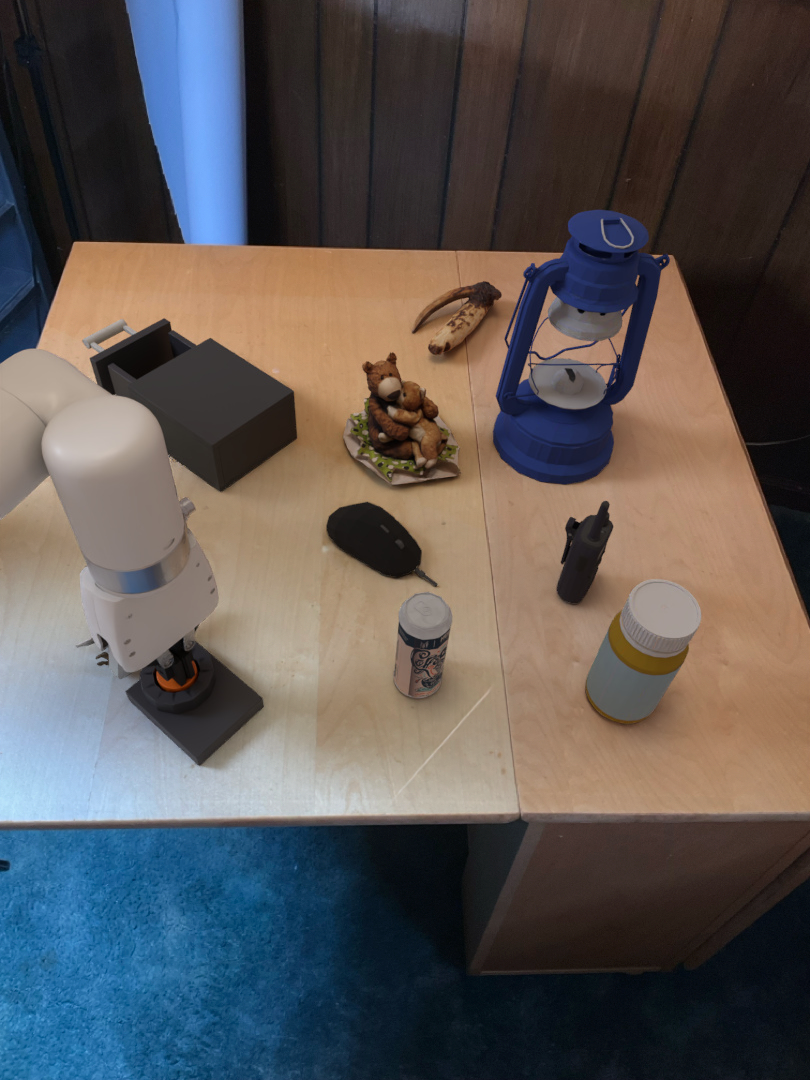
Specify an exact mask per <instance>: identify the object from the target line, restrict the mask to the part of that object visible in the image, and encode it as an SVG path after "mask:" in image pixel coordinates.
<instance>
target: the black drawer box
mask: <svg viewBox="0 0 810 1080" xmlns="http://www.w3.org/2000/svg"><path fill="white" fill-rule="evenodd" d="M196 345H197V346H195V347H193V348H191V349H190V350H188V351H186V352H184V353H183V354H181V355H179V356H177V357H176V358H174V359H172V360H170V361H169V362H167V363H165V364H163V365H162V366H160V367H158V368H156V369H155V370H153V371H151V372H150V373H148V374H146V375H144V376H143V377H141V378H139V379H137V380H136V381H134V382H132V383H130V384H129V385H127V386H128V390H129V394H130V398H131V399H132V400H135V401H137V402H138V403H140V404H142V405H144V406H145V407H146V408H147V409H149V410H150V411H151V412H152V414H153V415H154V416H155V417H156V419H157V421H158V423H159V425H160V427H161V429H162V432H163V436H164V440H165V444H166V449H167V453H168V456H170V457H171V458H173V459H174V460H175V461H176V462H178V463H180V464H181V465H182V466H183V467H185V468H187V469H188V471H190V472H192V473H193V474H194V475H196V476H197V477H199V479H201V480H203V481H204V482H205V483H207V484H208V485H209V486H211V487H212V488H214V489H215V490H216V491H217V492H219V493H222V492H223V491H225V490H226V489H228V488H229V487H231V486H232V485H233V484H235V483H236V482H237V481H239V480H240V479H242V478H244V477H245V476H246V475H248V474H249V473H250V472H252V471H254V470H255V469H256V468H258V467H259V466H260V465H262V464H263V463H264V462H266V461H267V460H269V459H270V458H272V457H273V456H274V455H276V454H277V453H278V452H280V451H281V450H283V449H285V448H286V447H287V446H289V445H290V444H291V443H292V442H294V441H296V440H297V439H298V430H297V429H298V428H297V414H296V398H295V391H294V390H293V389H292V388H291V387H289V386H287V385H285V384H284V383H282V382H281V381H280V380H278V379H276V378H274V377H273V376H271V375H270V374H268V373H267V372H265V371H264V370H262V369H260V368H259V367H257V366H256V365H254V364H253V363H251V362H250V361H248V360H246V359H245V358H243V357H242V356H240V355H238V354H237V353H235V352H234V351H232V350H230V349H229V348H227V347H225V346H224V345H223V344H221V343H219V342H218V341H216V340H214V339H213V338H211V337H209V338H207V339H205V340H203V341H201V342H200V343H199V344H196Z"/></svg>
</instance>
